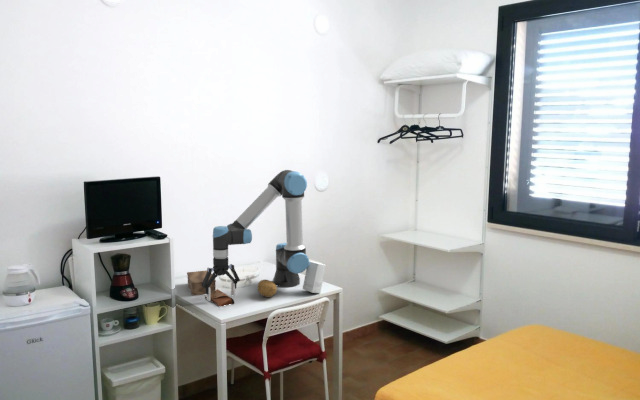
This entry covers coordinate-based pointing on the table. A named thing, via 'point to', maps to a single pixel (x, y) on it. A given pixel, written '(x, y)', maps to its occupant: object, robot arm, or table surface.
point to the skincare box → (314, 277)
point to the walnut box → (199, 282)
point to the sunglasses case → (220, 298)
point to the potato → (267, 288)
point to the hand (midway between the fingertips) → (221, 297)
